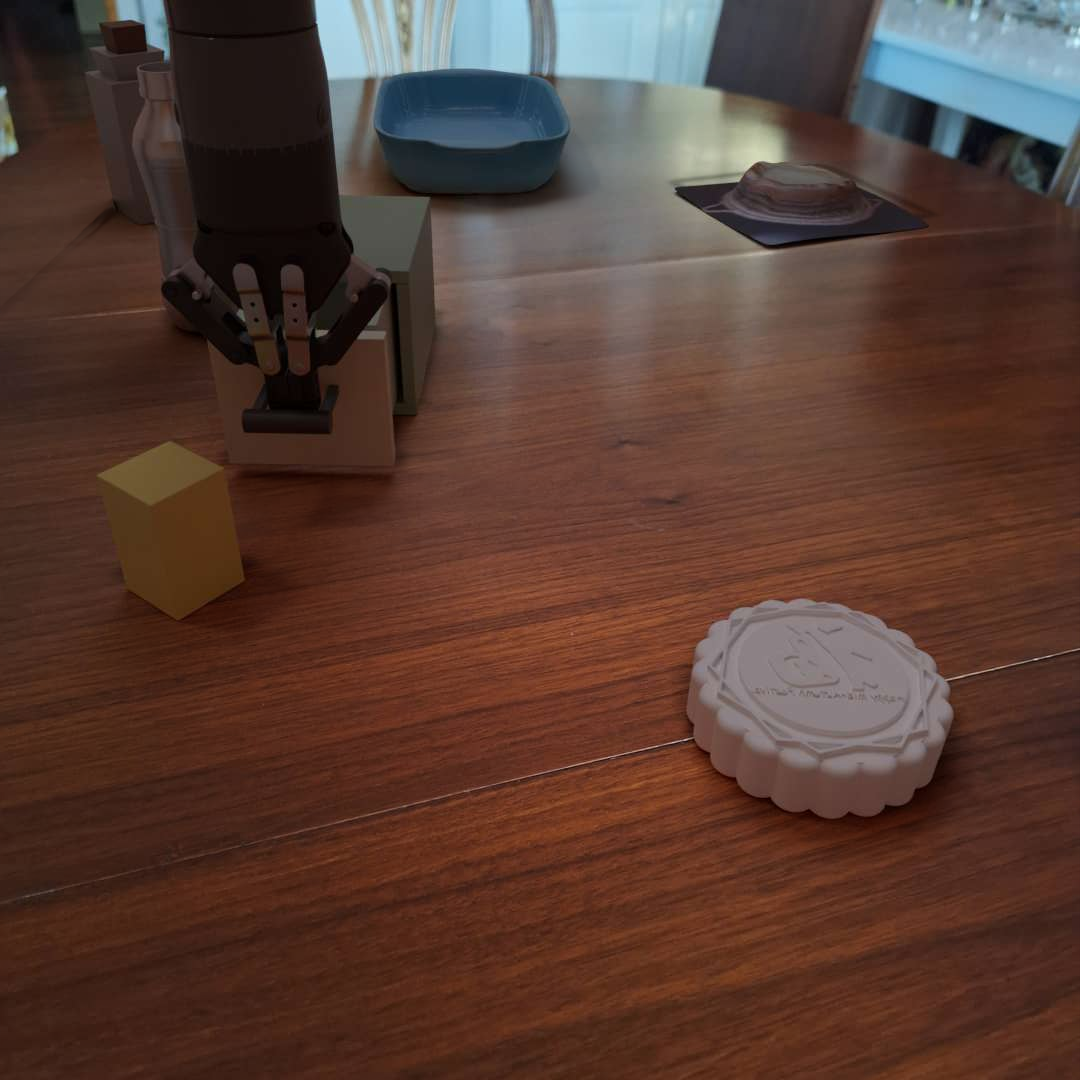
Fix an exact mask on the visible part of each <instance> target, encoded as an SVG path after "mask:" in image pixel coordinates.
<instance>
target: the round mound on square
mask: <svg viewBox="0 0 1080 1080" xmlns="http://www.w3.org/2000/svg"><path fill="white" fill-rule="evenodd" d="M674 190H675V191H676V192H677V193H679V194H680V195H681V196H683V197H684V198H686V199H687V200H689V201H690V202H691V203H693V204H694V205H695V206H696V207H698V208H699V209H701V210H702V211H703V212H704V213H705V214H707V215H709V216H710V217H712V218H714V219H716V220H718V221H719V222H721V223H723V224H725V225H727V226H729V227H730V228H732V229H734V230H736V231H738V232H740V233H743V234H744V235H746V236H748V237H750V238H751V239H754V240H756V241H758V242H760V243H762V244H764V245H767V246H770V245H771V246H774V245H780V244H784V243H785V244H786V243H791V242H799V241H804V240H805V241H806V240H814V239H823V238H831V237H832V238H833V237H842V236H854V235H855V236H856V235H869V234H882V233H894V232H902V231H911V230H917V229H923V228H927V227H929V223H928V222H926V221H925V220H923V219H921V218H920V217H919V216H917V215H914V214H913V213H911V212H909V211H908V210H907V209H904V208H903V207H901V206H899V205H897V204H895V203H894V202H891V201H890V200H888V199H886V198H883V197H882V196H879V195H877V194H875V193H872V192H871V191H868V190H866V189H864V188H861V187H859V186H857V183H856V181H854V180H853V179H850V178H842V176H840V174H837V173H834V172H831V171H830V170H828V169H825V168H820V167H818V166H815V165H801V164H798V163H795V162H789V161H779V162H769V161H764V160H761V161H757V162H755V163H754V164H752V165H751V166H750V167H749V168H748V169H747V170H746V171H745V172H744V174H743V175H742V177H741V178H740V180H739V181H735V182H734V181H733V182H723V183H710V184H708V183H707V184H698V185H697V184H695V185H685V186H684V185H683V186H676V187H674Z"/></svg>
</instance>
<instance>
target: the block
mask: <svg viewBox="0 0 1080 1080" xmlns="http://www.w3.org/2000/svg"><path fill="white" fill-rule="evenodd" d="M96 479H97V483H98V486H99V490H100V494H101V498H102V501H103V505H104V509H105V513H106V517H107V520H108V523H109V527H110V531H111V534H112V539H113V542H114V546H115V549H116V553H117V557H118V560H119V563H120V568H121V572H122V576H123V579H124V583H125V587H126V589H127V590H129V591H130V592H131V593H133V594H135V595H136V596H138V597H140V598H141V599H143V600H144V601H146V602H147V603H149V604H150V605H152V606H154V607H155V608H157V609H158V610H160V611H161V612H163V613H165V614H166V615H167V616H169V617H171V618H172V619H174V620H175V621H181V620H183V619H185V618H186V617H187V616H189V615H191V614H192V613H194V612H196V611H198V610H200V608H202V607H204V606H206V605H208V604H209V603H210V602H212V601H214V600H216V599H217V598H219V597H220V596H222V595H224V594H225V593H228V592H229V591H231V590H232V589H234V588H235V587H237V586H239V585H241V584H242V583H244V582H245V580H246V579H245V573H244V568H243V563H242V557H241V552H240V546H239V541H238V535H237V530H236V525H235V519H234V513H233V509H232V503H231V498H230V492H229V487H228V482H227V476H226V471H225V468H224V467H223V466H221V465H219V464H217V463H215V462H213V461H211V460H209V459H207V458H205V457H203V456H201V455H200V454H197V453H195V452H193V451H191V450H189V449H187V448H186V447H184V446H181V445H180V444H177V443H176V442H173V441H172V440H168V441H166V442H164V443H162V444H159V445H158V446H155V447H153V448H150V449H149V450H147V451H144V452H143V453H141V454H139V455H136V456H134V457H132V458H129V459H128V460H126V461H123V462H121V463H119V464H117V465H115V466H112V467H111V468H108V469H106V470H104V471H102V472H100V473H98V474H96Z"/></svg>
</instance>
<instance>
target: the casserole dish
mask: <svg viewBox="0 0 1080 1080" xmlns="http://www.w3.org/2000/svg"><path fill="white" fill-rule="evenodd" d="M373 127H374V130H375V133H376V135H377V138H378V140H379V143H380V146H381V149H382V152H383V154H384V157H385V160H386V162H387V164H388V166H389V169H390V170H391V172H392V174H393V175H394V176H395V178H396V179H397V180H398V182H400V183H402V185H404V186H406V187H407V189H410V190H411V191H414V192H417V193H421V194H422V193H423V194H448V195H472V194H478V195H497V194H498V195H499V194H500V195H501V194H503V195H504V194H505V195H507V194H509V195H510V194H521V193H528V192H532V191H535V190H536V189H537V190H538V188H539V187H541V186H543V185H545V183H547V182H549V180H550V179H551V178H552V177H553V175H554V173H555V171H556V169H557V167H558V164H559V163H560V159H561V157H562V154H563V150H564V147H565V144H566V141H567V138H568V137H569V133H570V131H571V123H570V118H569V116H568V114H567V111H566V109H565V107H564V105H563V102H562V99H561V98H560V96H559V93H558V92H557V90H556V88H555V86H553V84H552V83H551V82H550V81H549V80H547V79H545V78H543V77H540V76H537V75H533V74H527V73H520V72H519V73H518V72H517V73H516V72H510V71H501V70H494V69H485V68H484V69H481V68H440V69H432V70H421V71H412V72H411V71H410V72H409V71H408V72H404V73H403V72H401V73H397V74H394V75H391V76H388V77H387V78H385V79H384V80H383V81H382V82H381V84H380V85H379V88H378V91H377V97H376V103H375V107H374V113H373Z"/></svg>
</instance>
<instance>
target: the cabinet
mask: <svg viewBox="0 0 1080 1080" xmlns="http://www.w3.org/2000/svg"><path fill="white" fill-rule="evenodd" d="M339 200H340V210H341V219H342V223H343V226H344V228H345V230H346V232H347V233H348V235H349V236H350V238H351V240H352V242H353V246H354V253H353V254H354V255H356V256H357V257H358V258H360V259H361V260H362V261H364V262H365V263H367V264H368V265H369V266H371V267H372V268H373V269H376V268H380V267H382V268H386V269H388V270H389V271H390V272H391V274H392V278H393V280H392V283H396V291H397V306H398V322H399V337H400V353H401V368H402V377H401V381H400V385H399V389H398V393H397V397H396V401H395V405H394V409H393V413H392V416H417V415H418V411H419V406H420V402H421V397H422V392H423V388H424V383H425V377H426V373H427V367H428V364H429V359H430V354H431V349H432V344H433V340H434V335H435V331H436V325H437V322H436V321H437V320H436V300H435V299H436V297H435V277H434V254H433V249H434V248H433V229H432V209H431V207H432V205H431V204H432V203H431V197H430V196H406V195H405V196H403V195H402V196H401V195H400V196H398V195H357V194H356V195H352V194H351V195H350V194H349V195H348V194H347V195H346V194H339ZM338 282H348V280H347V277H346V276H345V274H343V275H342V277H341V278H340V280H339V281H338ZM236 308H237V312H238V311H239V309H240V308H238V307H237V306H236Z"/></svg>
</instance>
